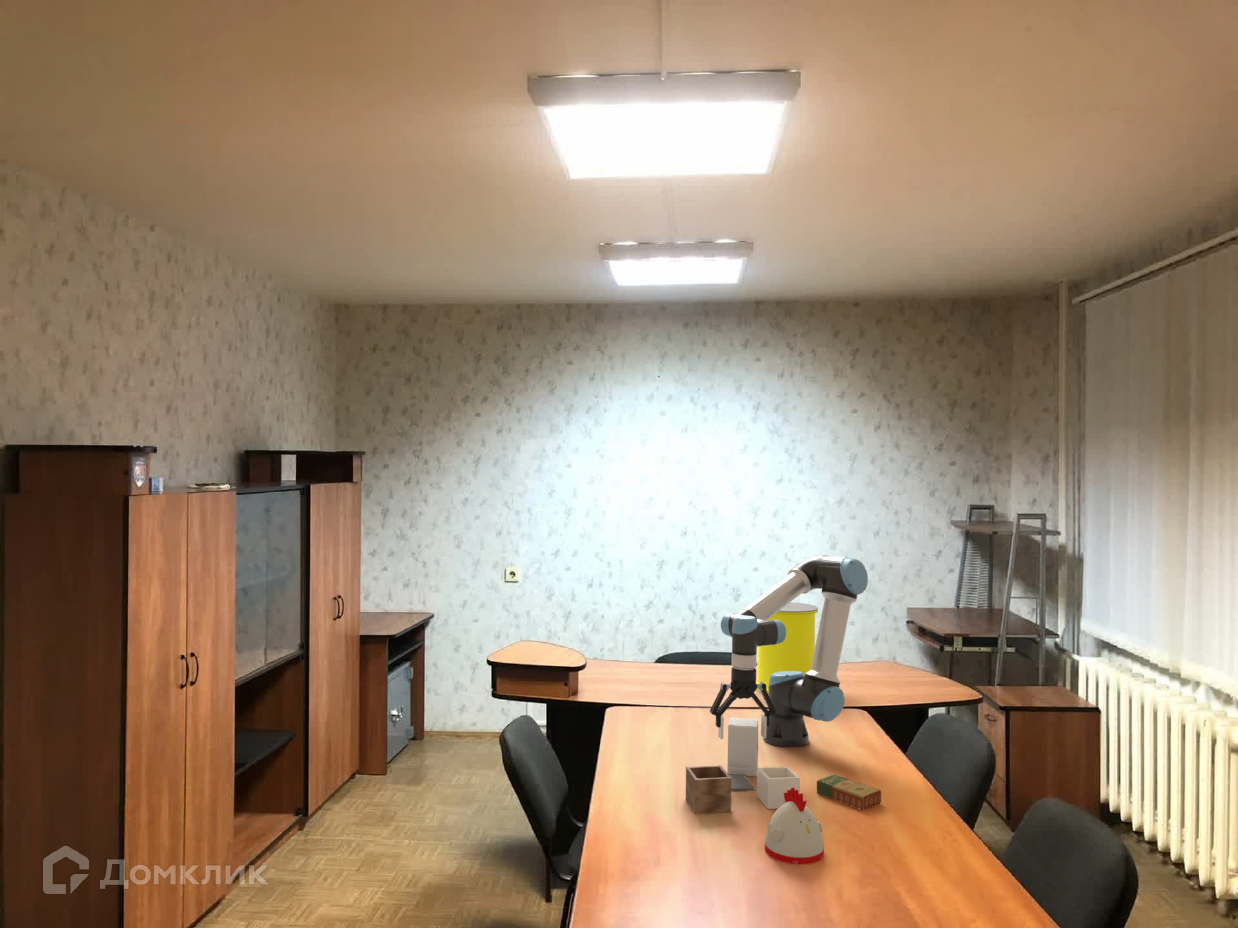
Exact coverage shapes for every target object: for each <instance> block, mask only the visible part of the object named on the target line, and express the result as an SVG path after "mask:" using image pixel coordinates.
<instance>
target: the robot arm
mask: <svg viewBox="0 0 1238 928" xmlns="http://www.w3.org/2000/svg"><path fill="white" fill-rule="evenodd" d="M868 582H869V576H868V571H867V569H866V567H865V565H864V564H863V562H862V561H861V560H859V559H857V558H851V557H848V556H844V557H843V556H834V555H823V554H819V555H815V556H812V557H810V558H808V559H805V560H803V561H802V562H799V564H797V565H795V566H794V567H792V568H791V569H789V571H788V572H787V575H786V576H785V577H784V578H783V579H782V580H780V581H778V582H777V583H776V584H775V585H773V586H772V587H771V588H769V589H768V590H767V591H765V592H764V593H763V594H761V595H760V596H758V598H756V599H754V600H753V601H752V602H750V603H749V604H747V605H746V606H744V608H743V609H741V610H739V611H738V612H736V613H735V612H732V613H730V612H729V613H725V615H723V616H722V619H721V620H720V629H721V632H722V633H723V634H724V635H725V636H728V637H730V638H731V666H732V667H731V672H730V673H731V676H730V677H731V678H730V683H725V682H721V683H720V686H719V688H720V689H719V691H718V693H717V695H716V698H715V699H714V701H713V704H712V705H711V708H710V710H709V713H710V714H711V715H712V716H715V727H716V728H718V729H717V730H718V733H717V734H718V735H717V736H718V738H719V739H720V740H724V727H725V726H724V725H725V724H724V723H725V722H724V720H725V717H724V716H723V715H724V713H725V712H726V711H727V710H728V709H729V707H730V706H731V705H732V704H733V702H734V701H736V700H737V699H740V700H742V699H743V700H744V699H748V700H749V699H750V698H751V699H752V700H753V701H754V702H755V704H756V705H757V706H758V707H759V709H760V710H761V711H762V712H763V713H764V714H763V713H761V718H760V719H761V720H760V736H761V737H762V738H763V741H764V742H766V743H767V744H771V745H775V746H779V747H789V748H791V747H793V748H794V747H802V746H805V745H807V744H808V743H809V738H810V737H809V733H808V729H807V727H806V722H805V719H804V716H805V717H807V718H811V719H813V720H815V721H816V720H817V721H821V722H826V723H827V722H828V723H829V722H832V721H834V720H835V719H836V718H837V717H838V716H839V715H840V714H841V713H842V711H843V710H844V709H843V708H844V706H845V700H846V699H845V696H844V695H845V694H844V692H843V690H842V689H841V688H840V687H841V686H840V685H841V681H840V680H839V678H838V670H839V666H840V661H841V655H842V650H843V645H844V641H845V634H846V630H847V625H848V621H849V615H850V610H851V605H852V604H853V603H856V602H857V599H858V595H862V594H863V593H864V592H865V590H867V586H868V584H869V583H868ZM818 589H820V590H821V591H820V592H821V594H822V596H823V599H824V600H823V605H822V612H821V615H820V616H821V617H820V621H819V626H818V631H817V635H816V639H815V650H814V655H813V660H812V664H811V669H810V670H809V671H808V672H806V673H805V675H804V674H803V673H802V672H799V671H782V672H776V673H773V674H771V675H770V679H769V695H768V693H767V690H766V684H764V683H763V682H760V683H759V684H756V682H757V669H756V667H757V655H758V646H765V645H775V644H779V643H782V642H783V641H784V640H785V638H786V627H785V625H784V624H783V623H782V622H781V621H779V620H768V619H769V618H770V617H772V616H773V615H774V614H775V613H777V612H778V611H779V610H781V609H782V608H783V607H785V606H786V605H787V604H789V603H790V602H793V601H794V600H795V599H796V598H798V597H799V596H800V595H803V594H804V595H805V594H808V593H809V592H811V591H812V590H818ZM757 688H758V689H759V690H760V691H761V692H760V694H762V695H761V696H762V697H763V699H764V701H765V704H766V706H767V708H768V709H767V708H766V706H765V704H763V702H762V701H761V700H760V698H759V697H758V696H757V694H755V692H756V691H757V690H756V689H757ZM729 690H731V691H730V693H729V695H728V696H727V698H726V699H725V700H724V698H725V696H726V694H727V692H728V691H729ZM723 700H724V701H723Z"/></svg>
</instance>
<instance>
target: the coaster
mask: <svg viewBox="0 0 1238 928" xmlns="http://www.w3.org/2000/svg"><path fill="white" fill-rule="evenodd" d="M728 775H729V776H730V777H731V792H735V791H753V790H754V791H755V790H756V787H755V786H754V785H753V784H752V783H751V781H749V780H748V778H747V776H744V775H743V774H737V775H733V774H728Z"/></svg>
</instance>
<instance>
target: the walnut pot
mask: <svg viewBox="0 0 1238 928" xmlns="http://www.w3.org/2000/svg"><path fill="white" fill-rule="evenodd" d="M729 775H730V774H728V773H727V771H726V770H725V769H724V767H723V766H721V764H719V765H700V766H686V767H685V801H686V802H687V804H688V805H689V807H690V809H691V810H692V812H693V813H694V815H697V814H699V815H700V814H715V813H716V814H717V813H730V812H731V813H732V791H731V777H730V776H729Z"/></svg>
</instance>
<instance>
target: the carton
mask: <svg viewBox="0 0 1238 928" xmlns="http://www.w3.org/2000/svg"><path fill="white" fill-rule="evenodd" d="M816 793H817V794H819V795H820V796H821V795H822V796H824V797H826V796H827V798H829V797H830V798H829V799H832V800H834V799H835V801H837V800H838V801H837V802H839V801H841V802H840V803H842V802H843V804H845V803H846V805H847V804H848V806H850V805H852V806H851V807H853V806H854V807H853V808H855V807H856V809H858V808H860V809H859V810H861V811H865V809H866V810H868V809H867V808H869V807H871V808H873V807H872V806H874V807H876V806H875V805H877V806H879V805H881V804H882V790H881V789H879V788H876V787H873V786H870V785H867V784H863V783H861V782H858V781H855V780H852V779H849V778H848V777H847V778H846V777H843V776H841V775H837V774H835V773H834V774H831V775H829V776H826V777H824V778H820V779H817V781H816ZM880 803H881V804H880ZM878 804H879V805H878ZM869 809H870V808H869Z"/></svg>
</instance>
